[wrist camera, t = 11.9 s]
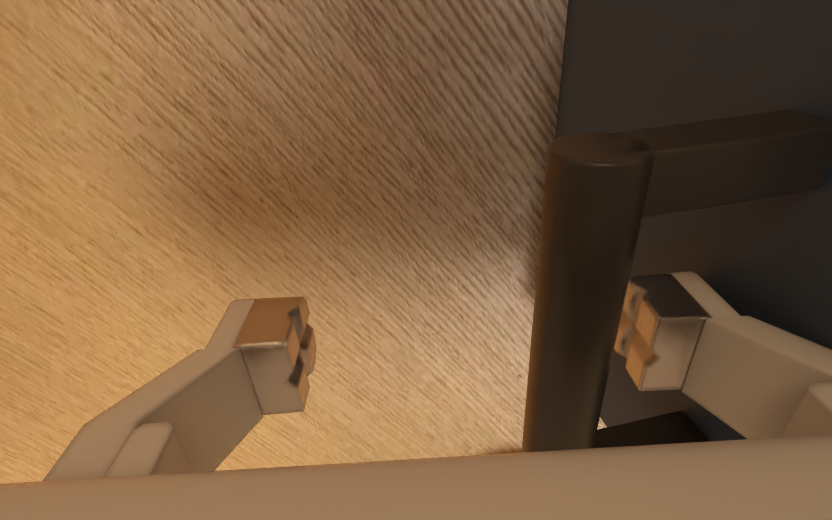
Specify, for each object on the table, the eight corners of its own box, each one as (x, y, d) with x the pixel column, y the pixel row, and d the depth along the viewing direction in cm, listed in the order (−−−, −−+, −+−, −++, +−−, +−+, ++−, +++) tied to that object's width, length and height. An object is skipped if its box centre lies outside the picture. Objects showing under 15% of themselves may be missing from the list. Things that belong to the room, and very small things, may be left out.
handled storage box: (938, -77, 14) (1905, -174, 6) (786, 277, 21) (1115, 476, 12) (418, -40, 12) (714, -108, 3) (439, 345, 18) (551, 645, 10)
